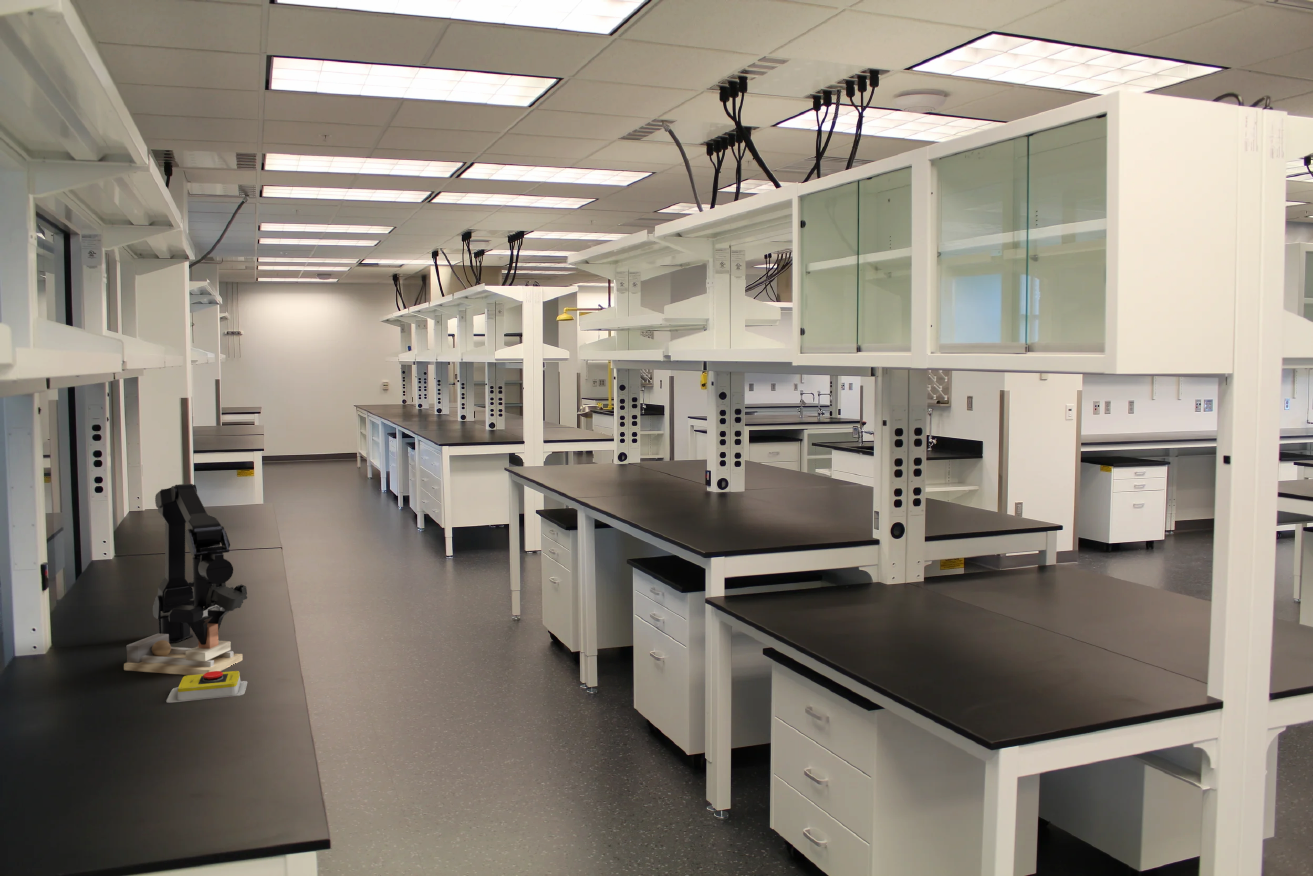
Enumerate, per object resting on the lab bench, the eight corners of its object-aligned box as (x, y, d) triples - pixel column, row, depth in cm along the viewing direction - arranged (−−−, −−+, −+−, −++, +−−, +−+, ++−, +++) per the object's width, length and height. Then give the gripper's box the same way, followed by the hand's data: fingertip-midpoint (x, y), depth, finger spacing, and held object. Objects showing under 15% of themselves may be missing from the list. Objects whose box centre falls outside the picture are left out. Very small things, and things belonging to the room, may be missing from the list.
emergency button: (243, 677, 194) (164, 684, 189) (244, 697, 194) (165, 705, 189) (247, 664, 202) (172, 671, 197) (247, 683, 203) (172, 690, 198)
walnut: (148, 659, 213) (147, 642, 213) (160, 654, 217) (159, 637, 216) (163, 660, 212) (162, 643, 212) (175, 655, 216) (174, 638, 216)
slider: (185, 660, 208) (185, 630, 208) (211, 648, 217) (211, 619, 216) (205, 661, 207) (204, 631, 207) (230, 649, 216) (229, 620, 216)
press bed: (124, 670, 210) (123, 646, 209) (161, 654, 221) (160, 632, 221) (209, 676, 206) (208, 652, 205) (242, 660, 217) (242, 637, 217)
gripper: (210, 587, 200) (212, 656, 201) (262, 569, 218) (263, 633, 220) (166, 584, 202) (168, 653, 203) (220, 567, 220) (222, 630, 222)
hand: (208, 642), depth 212 cm, fingers closed on slider, 3 cm apart
